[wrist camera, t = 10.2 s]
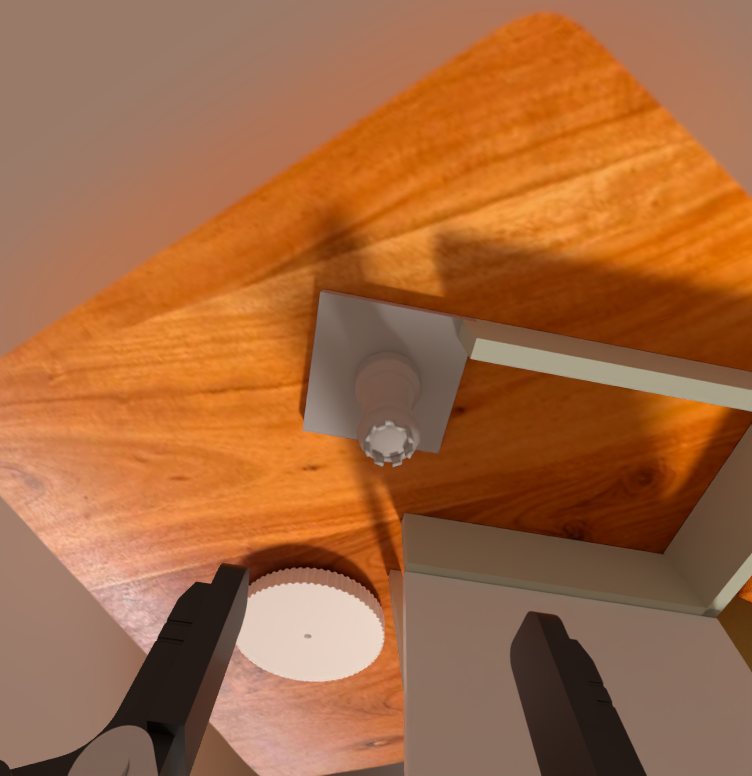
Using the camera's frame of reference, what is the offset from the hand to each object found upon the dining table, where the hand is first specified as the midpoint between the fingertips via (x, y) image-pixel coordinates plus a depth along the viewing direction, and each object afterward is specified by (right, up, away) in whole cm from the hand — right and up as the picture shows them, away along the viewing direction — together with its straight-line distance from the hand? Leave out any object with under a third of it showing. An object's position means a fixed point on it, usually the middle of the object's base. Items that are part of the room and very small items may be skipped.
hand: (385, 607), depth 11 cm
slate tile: (0, +7, +16) cm, 17 cm away
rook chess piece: (+1, +7, +15) cm, 17 cm away
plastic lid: (-6, -15, +27) cm, 32 cm away
